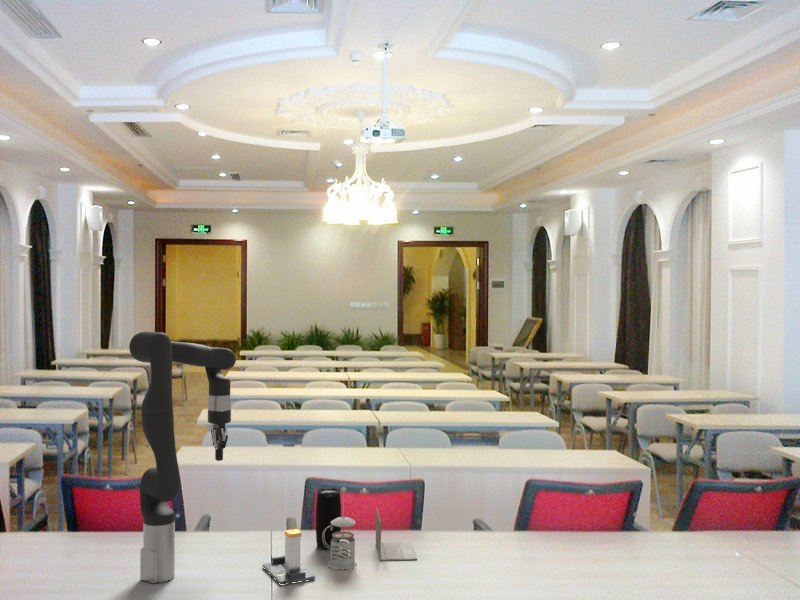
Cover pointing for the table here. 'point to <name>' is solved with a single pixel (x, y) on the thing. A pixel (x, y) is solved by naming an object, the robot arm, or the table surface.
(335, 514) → the portable speaker
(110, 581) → the table surface
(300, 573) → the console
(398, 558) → the laptop
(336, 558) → the french press
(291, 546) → the fader handle
